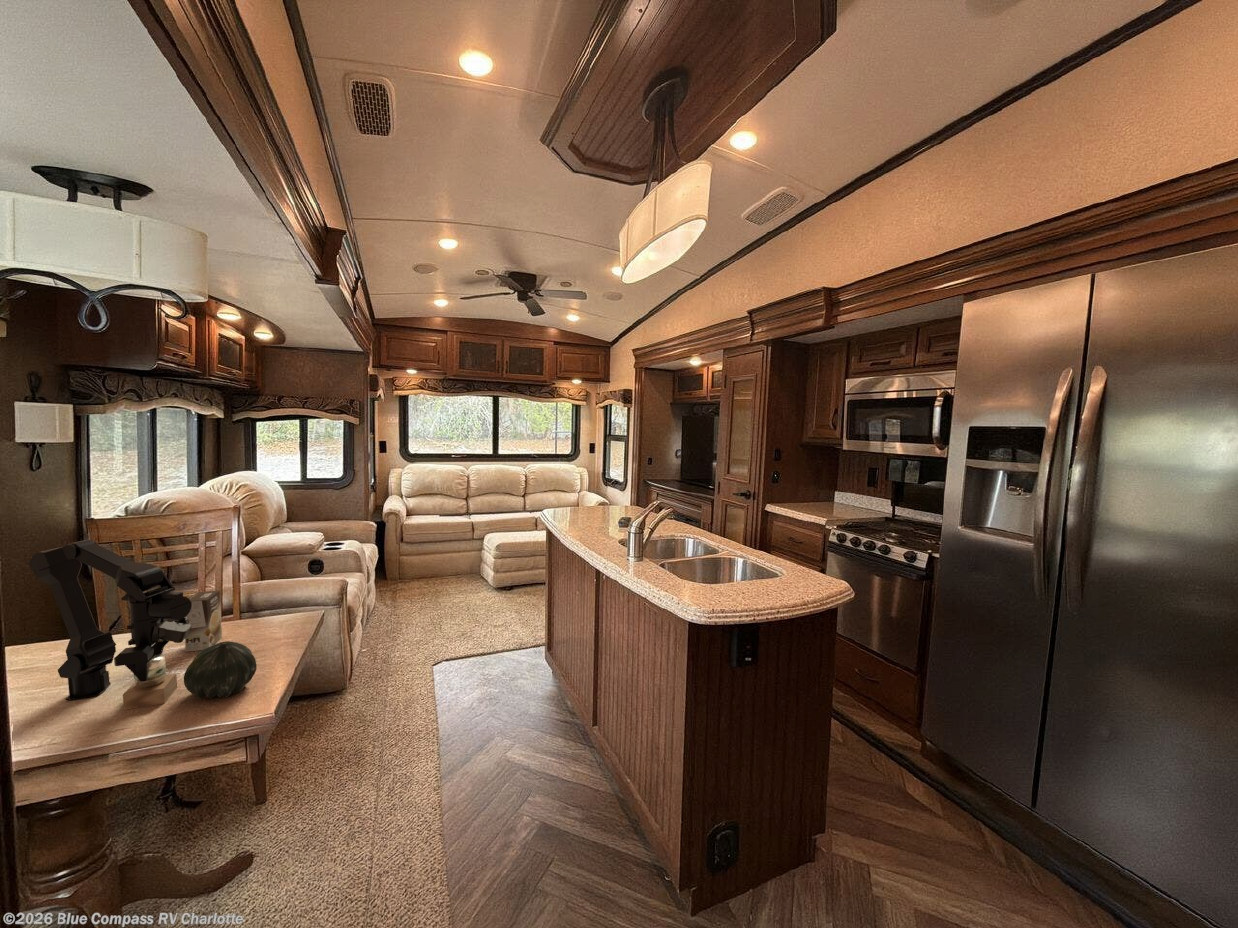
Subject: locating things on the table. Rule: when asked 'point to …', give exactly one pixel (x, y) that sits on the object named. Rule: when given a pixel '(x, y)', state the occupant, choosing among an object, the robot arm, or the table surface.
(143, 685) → the tin
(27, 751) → the table surface
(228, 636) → the table surface
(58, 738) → the table surface
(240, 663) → the squash
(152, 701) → the block
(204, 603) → the coffee box
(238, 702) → the table surface
